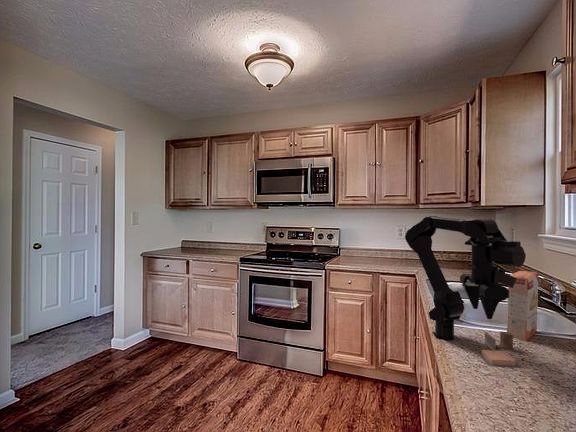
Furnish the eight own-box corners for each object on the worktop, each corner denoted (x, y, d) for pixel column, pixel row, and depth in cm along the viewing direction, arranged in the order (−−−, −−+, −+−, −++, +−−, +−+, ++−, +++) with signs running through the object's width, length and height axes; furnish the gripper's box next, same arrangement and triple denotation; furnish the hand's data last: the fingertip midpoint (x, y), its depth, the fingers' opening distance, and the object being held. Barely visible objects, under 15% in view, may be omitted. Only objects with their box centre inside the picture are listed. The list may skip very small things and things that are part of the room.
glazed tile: (504, 355, 93) (481, 354, 94) (504, 350, 93) (481, 349, 94) (515, 365, 87) (491, 364, 88) (515, 360, 87) (491, 359, 88)
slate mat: (476, 354, 95) (476, 352, 95) (508, 356, 94) (508, 354, 94) (488, 368, 87) (488, 365, 87) (524, 370, 86) (524, 368, 86)
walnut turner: (505, 345, 101) (506, 330, 101) (515, 353, 96) (515, 337, 95) (484, 344, 102) (484, 329, 102) (493, 352, 96) (493, 336, 96)
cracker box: (528, 343, 103) (529, 278, 102) (506, 337, 107) (506, 275, 107) (538, 331, 112) (539, 272, 111) (517, 327, 117) (518, 269, 116)
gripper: (531, 267, 85) (530, 326, 85) (496, 256, 103) (496, 305, 104) (485, 267, 86) (485, 324, 87) (459, 256, 105) (459, 303, 105)
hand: (482, 313), depth 96 cm, fingers open, 9 cm apart
